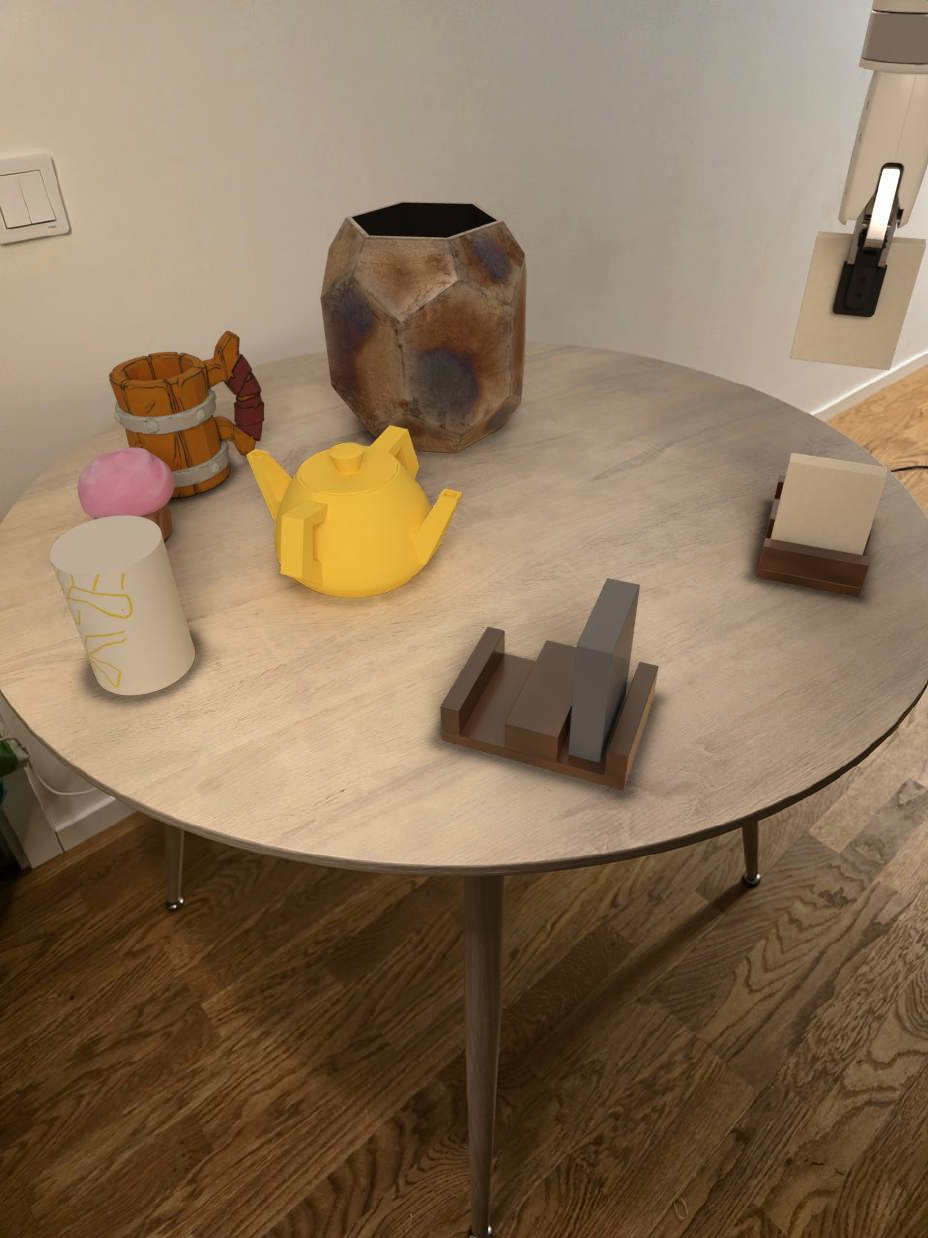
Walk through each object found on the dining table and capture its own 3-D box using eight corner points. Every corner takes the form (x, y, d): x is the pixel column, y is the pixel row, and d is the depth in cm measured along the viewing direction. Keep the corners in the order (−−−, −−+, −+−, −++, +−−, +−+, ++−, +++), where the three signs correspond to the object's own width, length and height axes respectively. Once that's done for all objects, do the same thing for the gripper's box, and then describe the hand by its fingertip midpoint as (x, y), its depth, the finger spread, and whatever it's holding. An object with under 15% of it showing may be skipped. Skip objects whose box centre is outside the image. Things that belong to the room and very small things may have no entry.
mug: (122, 469, 100) (83, 342, 91) (258, 435, 106) (235, 312, 97) (144, 511, 92) (105, 377, 83) (289, 471, 99) (267, 342, 89)
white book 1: (791, 351, 76) (818, 230, 70) (889, 362, 74) (925, 238, 67) (789, 359, 75) (816, 236, 68) (889, 370, 72) (926, 244, 66)
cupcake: (199, 521, 91) (177, 434, 84) (172, 569, 84) (146, 478, 78) (116, 519, 91) (89, 433, 85) (83, 567, 84) (50, 477, 78)
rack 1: (653, 698, 68) (658, 665, 66) (623, 790, 61) (628, 757, 59) (487, 658, 73) (487, 626, 70) (441, 740, 65) (439, 706, 63)
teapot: (416, 501, 93) (409, 396, 85) (470, 587, 80) (468, 473, 73) (260, 533, 88) (238, 426, 81) (292, 629, 76) (270, 512, 69)
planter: (559, 443, 102) (569, 231, 88) (359, 481, 96) (335, 260, 82) (493, 374, 119) (492, 186, 104) (319, 403, 113) (292, 207, 98)
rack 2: (864, 519, 88) (873, 489, 86) (858, 597, 78) (869, 565, 76) (772, 504, 91) (779, 474, 89) (756, 577, 81) (763, 546, 79)
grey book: (626, 691, 68) (640, 584, 61) (600, 763, 62) (612, 653, 55) (596, 684, 68) (607, 577, 62) (567, 754, 62) (576, 645, 56)
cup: (74, 673, 72) (26, 554, 65) (149, 621, 77) (112, 505, 70) (142, 708, 69) (99, 586, 61) (215, 651, 74) (183, 532, 67)
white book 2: (857, 562, 80) (888, 466, 74) (856, 572, 79) (887, 476, 73) (768, 546, 83) (791, 452, 77) (766, 556, 82) (789, 461, 75)
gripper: (867, 31, 67) (812, 276, 78) (860, 54, 55) (797, 337, 67) (974, 32, 64) (902, 284, 76) (990, 56, 53) (902, 349, 64)
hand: (853, 307), depth 71 cm, fingers closed on white book 1, 1 cm apart
